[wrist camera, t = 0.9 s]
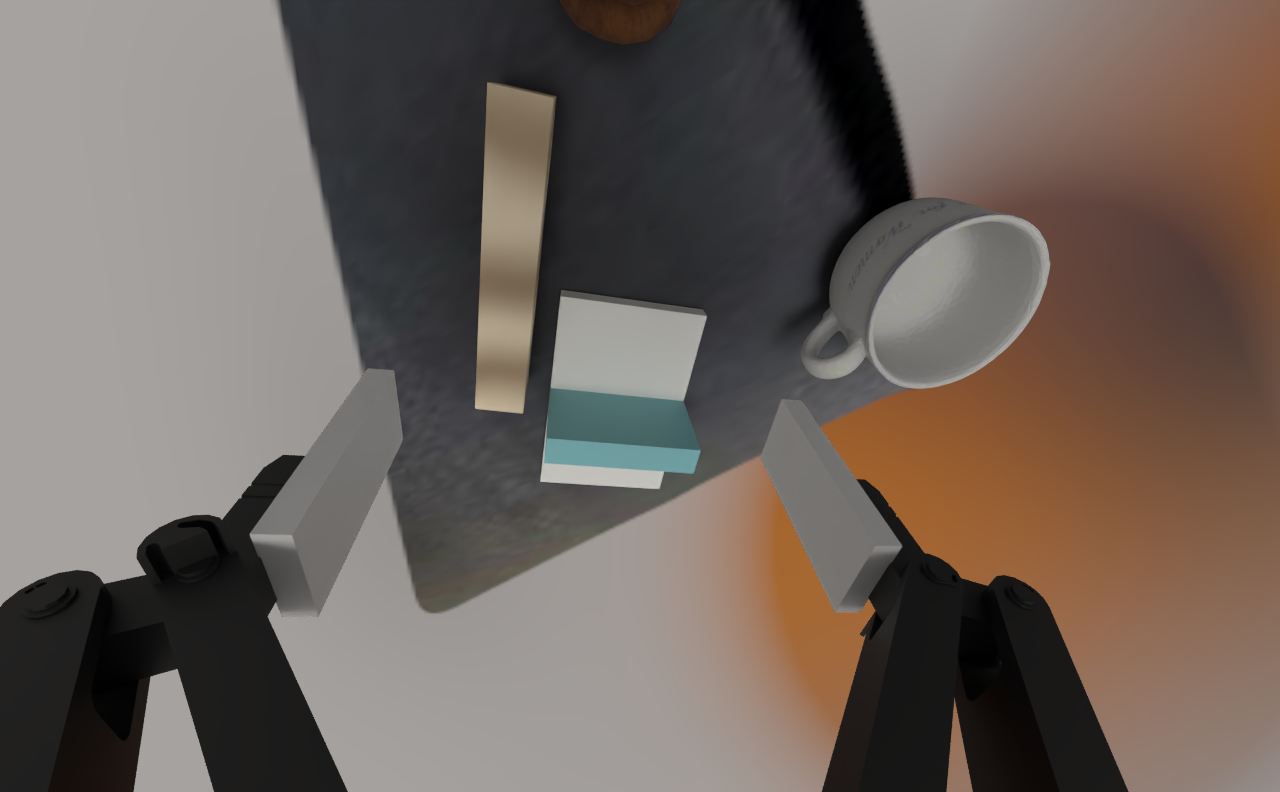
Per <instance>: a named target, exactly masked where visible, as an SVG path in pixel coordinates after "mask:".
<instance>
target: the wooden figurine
mask: <svg viewBox="0 0 1280 792" xmlns="http://www.w3.org/2000/svg"><path fill="white" fill-rule="evenodd" d="M559 1H560V3H561V4H562V6H563V7H564V9H565V10H566V12H567V13H568V15H569V17H570V18H571V20H572V21H573V23H574V24H575V26H577V27H579V28H581V29H582V30H584V31H586V32H588V33H590V34H591V35H593V36H595V37H597V38H598V39H602V40H606V41H610V42H614V43H618V44H622V45H626V44H633V43H639V42H646V41H649V40H651V39H652V38H653V37H655V36H656V35H657V34H658V33H660V32H661V31H662V30H664V29H665V28H666V27H667V26H669V25H670V24H671V22H672V20H673V18H674V15H675V13H676V11H677V9H678V6H679V4H680V2H681V0H559Z"/></svg>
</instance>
